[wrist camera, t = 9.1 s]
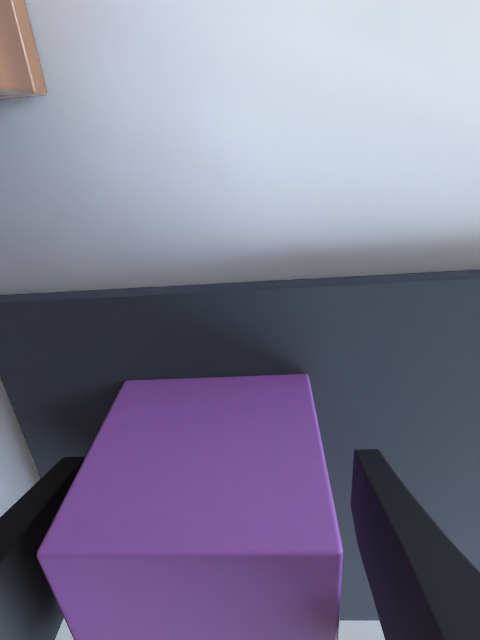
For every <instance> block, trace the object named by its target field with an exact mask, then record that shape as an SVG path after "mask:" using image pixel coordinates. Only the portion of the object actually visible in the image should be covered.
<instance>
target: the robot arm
mask: <svg viewBox="0 0 480 640" xmlns="http://www.w3.org/2000/svg"><path fill="white" fill-rule="evenodd" d="M84 459H85V456H83V457H63V458H62V459H61V460H60V461H59V462H58V463H57V464H55V465H54V466H53V467H52V468H51V469H50V470H49V471H48V472H47V473H46V474H45V475H44V476H43V477H42V478H41V479H40V480H39V481H38V482H37V483H36V484H35V485H34V486H33V487H32V488H31V489H30V490H29V491H28V492H27V493H26V494H24V495H23V496H22V497H21V498H20V499H19V500H18V501H17V502H16V503H15V504H14V505H13V506H12V507H11V508H10V509H9V510H8V511H7V512H6V513H4V514H3V515H2V516H1V517H0V640H55V638H56V635H57V633H58V630H59V628H60V625H61V623H62V620H63V618H64V616H63V614H62V612H61V610H60V607H59V605H58V603H57V601H56V599H55V596H54V594H53V592H52V590H51V588H50V585H49V583H48V581H47V579H46V577H45V574H44V572H43V570H42V568H41V566H40V563H39V561H38V559H37V551H38V549H39V547H40V545H41V543H42V541H43V539H44V538H45V536H46V534H47V532H48V530H49V528H50V526H51V524H52V522H53V520H54V518H55V516H56V514H57V512H58V510H59V508H60V506H61V504H62V502H63V500H64V498H65V496H66V494H67V493H68V491H69V489H70V487H71V485H72V483H73V481H74V479H75V477H76V475H77V473H78V471H79V469H80V467H81V465H82V463H83V461H84ZM350 506H351V511H352V517H353V522H354V528H355V533H356V538H357V544H358V548H359V551H360V555H361V558H362V562H363V565H364V569H365V572H366V576H367V579H368V582H369V586H370V589H371V593H372V596H373V599H374V603H375V606H376V610H377V613H378V616H379V620H380V623H381V627H382V630H383V633H384V637H385V640H480V571H479V569H478V568H477V567H476V566H475V565H474V564H473V563H472V562H471V561H470V560H469V559H468V558H467V557H466V556H465V555H464V553H463V552H462V551H461V550H460V549H459V548H458V547H457V546H456V545H455V544H454V543H453V541H452V540H451V539H450V538H449V537H448V536H447V535H446V533H445V532H444V531H443V530H442V529H441V528H440V527H439V525H438V524H437V523H436V522H435V521H434V519H433V518H432V517H431V516H430V515H429V513H428V512H427V511H426V510H425V509H424V507H423V506H422V505H421V504H420V503H419V501H418V500H417V499H416V498H415V496H414V495H413V494H412V492H411V491H410V490H409V489H408V487H407V486H406V485H405V483H404V482H403V481H402V479H401V478H400V477H399V475H398V474H397V473H396V471H395V470H394V469H393V467H392V466H391V464H390V463H389V462H388V460H387V459H386V457H385V456H384V455H383V453H382V452H381V451H380V450H379V449H360V450H354V459H353V474H352V488H351V503H350Z"/></svg>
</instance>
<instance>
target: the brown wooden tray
mask: <svg viewBox="0 0 480 640" xmlns="http://www.w3.org/2000/svg"><path fill="white" fill-rule="evenodd" d="M46 94H47V89H46V85H45V81H44V76H43V72H42V68H41V64H40V60H39V56H38V52H37V48H36V44H35V40H34V36H33V32H32V27H31V23H30V19H29V15H28V11H27V7H26V3H25V0H0V99H7V98H19V97H30V96H42V95H46Z"/></svg>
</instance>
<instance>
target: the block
mask: <svg viewBox="0 0 480 640" xmlns="http://www.w3.org/2000/svg"><path fill="white" fill-rule="evenodd" d="M37 559H38V561H39V563H40V566H41V568H42V570H43V572H44V574H45V577H46V579H47V581H48V583H49V585H50V588H51V590H52V592H53V594H54V596H55V599H56V601H57V603H58V605H59V607H60V610H61V612H62V614H63V616H64V618H65V621H66V623H67V625H68V627H69V629H70V632H71V634H72V636H73V638H74V640H338V628H339V612H340V596H341V580H342V564H343V547H342V542H341V537H340V532H339V527H338V522H337V517H336V512H335V507H334V502H333V497H332V492H331V487H330V482H329V476H328V471H327V466H326V461H325V456H324V451H323V446H322V441H321V436H320V431H319V426H318V421H317V416H316V411H315V406H314V401H313V396H312V391H311V386H310V381H309V376H308V375H307V374H287V375H261V376H234V377H207V378H181V379H154V380H127V381H125V382H124V383H123V385H122V387H121V389H120V391H119V393H118V395H117V397H116V399H115V401H114V402H113V404H112V406H111V408H110V410H109V412H108V414H107V416H106V418H105V420H104V422H103V424H102V426H101V428H100V430H99V432H98V434H97V436H96V438H95V440H94V442H93V444H92V446H91V448H90V449H89V451H88V453H87V455H86V457H85V459H84V461H83V463H82V465H81V467H80V469H79V471H78V473H77V475H76V477H75V479H74V481H73V483H72V485H71V487H70V489H69V491H68V493H67V494H66V496H65V498H64V500H63V502H62V504H61V506H60V508H59V510H58V512H57V514H56V516H55V518H54V520H53V522H52V524H51V526H50V528H49V530H48V532H47V534H46V536H45V538H44V539H43V541H42V543H41V545H40V547H39V549H38V551H37Z"/></svg>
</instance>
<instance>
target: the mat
mask: <svg viewBox="0 0 480 640" xmlns="http://www.w3.org/2000/svg"><path fill="white" fill-rule="evenodd" d="M287 374H307V375H308V376H309V381H310V386H311V391H312V396H313V401H314V406H315V411H316V416H317V421H318V426H319V431H320V436H321V441H322V446H323V451H324V456H325V461H326V466H327V471H328V476H329V482H330V487H331V492H332V497H333V502H334V507H335V512H336V517H337V522H338V527H339V532H340V537H341V542H342V547H343V564H342V580H341V596H340V612H339V620H379V616H378V613H377V610H376V606H375V603H374V599H373V596H372V593H371V589H370V586H369V582H368V579H367V576H366V572H365V569H364V565H363V562H362V558H361V555H360V551H359V548H358V544H357V538H356V533H355V528H354V522H353V517H352V511H351V506H350V503H351V488H352V474H353V459H354V450H360V449H379V450H380V451H381V452H382V453H383V455H384V456H385V457H386V459H387V460H388V462H389V463H390V464H391V466H392V467H393V469H394V470H395V471H396V473H397V474H398V475H399V477H400V478H401V479H402V481H403V482H404V483H405V485H406V486H407V487H408V489H409V490H410V491H411V492H412V494H413V495H414V496H415V498H416V499H417V500H418V501H419V503H420V504H421V505H422V506H423V507H424V509H425V510H426V511H427V512H428V513H429V515H430V516H431V517H432V518H433V519H434V521H435V522H436V523H437V524H438V525H439V527H440V528H441V529H442V530H443V531H444V532H445V533H446V535H447V536H448V537H449V538H450V539H451V540H452V541H453V543H454V544H455V545H456V546H457V547H458V548H459V549H460V550H461V551H462V552H463V553H464V555H465V556H466V557H467V558H468V559H469V560H470V561H471V562H472V563H473V564H474V565H475V566H476V567H477V568H478V569H479V571H480V270H470V271H451V272H432V273H413V274H394V275H375V276H356V277H337V278H318V279H300V280H281V281H262V282H243V283H224V284H205V285H186V286H167V287H148V288H129V289H110V290H91V291H72V292H53V293H35V294H16V295H0V377H1V379H2V382H3V384H4V387H5V389H6V392H7V394H8V397H9V400H10V402H11V405H12V407H13V410H14V412H15V415H16V417H17V420H18V422H19V425H20V427H21V430H22V432H23V435H24V437H25V440H26V443H27V445H28V448H29V450H30V453H31V455H32V458H33V460H34V463H35V465H36V468H37V470H38V473H39V475H40V478H42V477H43V476H44V475H45V474H46V473H47V472H48V471H49V470H50V469H51V468H52V467H53V466H54V465H55V464H57V463H58V462H59V461H60V460H61V459H62V458H63V457H83V456H85V457H86V455H87V453H88V451H89V449H90V448H91V446H92V444H93V442H94V440H95V438H96V436H97V434H98V432H99V430H100V428H101V426H102V424H103V422H104V420H105V418H106V416H107V414H108V412H109V410H110V408H111V406H112V404H113V402H114V401H115V399H116V397H117V395H118V393H119V391H120V389H121V387H122V385H123V383H124V382H125V381H127V380H154V379H181V378H207V377H234V376H261V375H287Z"/></svg>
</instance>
